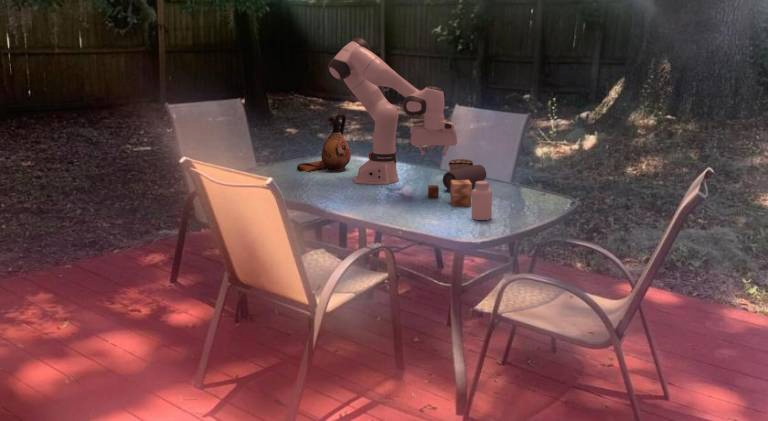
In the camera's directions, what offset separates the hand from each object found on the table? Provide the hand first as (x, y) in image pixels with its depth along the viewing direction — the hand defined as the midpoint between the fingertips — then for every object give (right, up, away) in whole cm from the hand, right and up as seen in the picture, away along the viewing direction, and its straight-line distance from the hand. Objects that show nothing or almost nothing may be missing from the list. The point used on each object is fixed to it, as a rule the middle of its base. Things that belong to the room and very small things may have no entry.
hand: (433, 155), depth 301 cm
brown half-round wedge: (+16, -9, +37) cm, 41 cm away
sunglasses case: (-59, -3, +63) cm, 87 cm away
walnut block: (0, -19, +5) cm, 19 cm away
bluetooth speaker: (+16, -14, +22) cm, 30 cm away
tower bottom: (+11, -22, -6) cm, 25 cm away
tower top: (+11, -17, -8) cm, 22 cm away
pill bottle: (+17, -28, -27) cm, 43 cm away
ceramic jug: (-47, -3, +61) cm, 77 cm away
